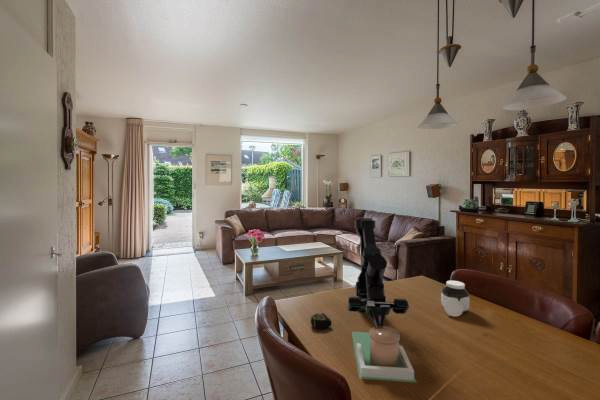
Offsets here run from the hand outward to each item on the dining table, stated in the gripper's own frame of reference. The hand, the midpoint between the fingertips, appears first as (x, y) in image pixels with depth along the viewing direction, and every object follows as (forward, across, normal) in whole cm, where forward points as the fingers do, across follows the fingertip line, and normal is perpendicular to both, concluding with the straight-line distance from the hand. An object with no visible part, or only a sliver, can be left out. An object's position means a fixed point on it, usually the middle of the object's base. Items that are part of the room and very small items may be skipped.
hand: (380, 332), depth 88 cm
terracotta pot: (+8, 0, -2) cm, 8 cm away
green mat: (+5, 0, -6) cm, 7 cm away
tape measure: (-7, +18, -18) cm, 26 cm away
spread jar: (-20, -37, -30) cm, 51 cm away
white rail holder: (+8, 0, -2) cm, 9 cm away
